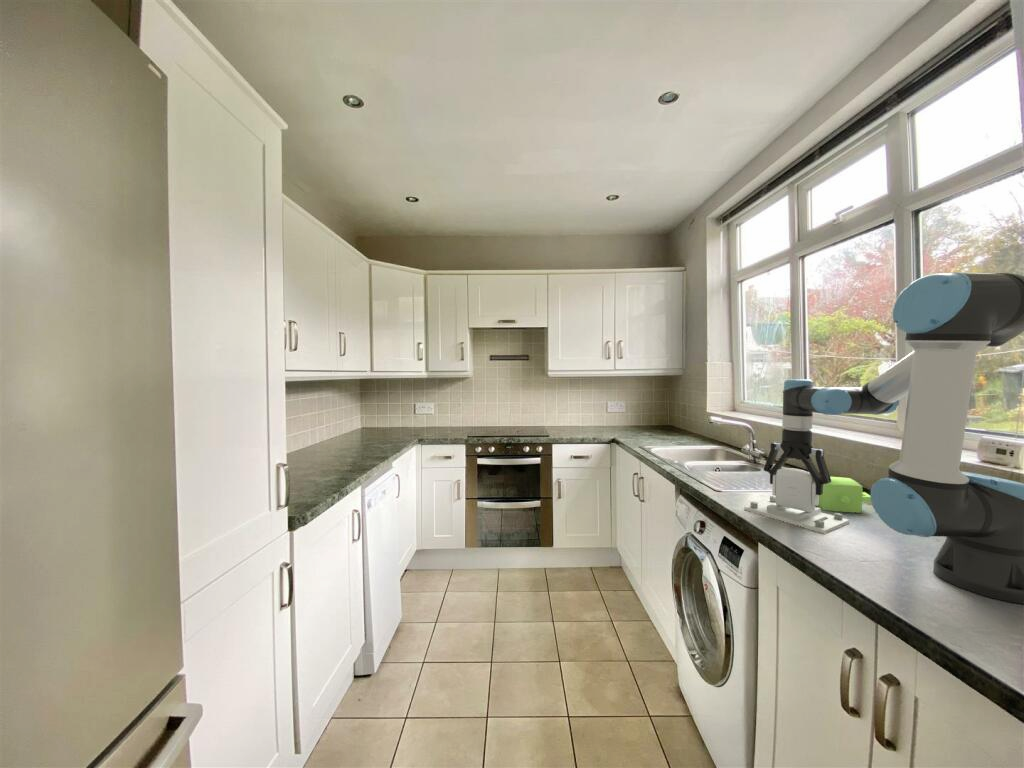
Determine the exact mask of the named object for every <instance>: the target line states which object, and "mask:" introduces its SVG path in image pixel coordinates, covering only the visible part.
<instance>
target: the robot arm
mask: <svg viewBox="0 0 1024 768" xmlns="http://www.w3.org/2000/svg"><path fill="white" fill-rule="evenodd" d="M892 308H893V309H892V321H893V322H894V323H895V324H896V325H895V326H896V327H897V328H898V329H899V330H900V331H903V332H904V333H905V338H904V343H906V344H907V345H908V346H909V347H911V348H912V350H913V351H912V352H910V353H909V354H907V355H906V356H905V357H903V358H902V359H900V360H899V361H897V362H896V363H894V364H893V365H892V366H890V367H889V368H887V369H886V370H885V371H883V372H882V373H880V374H879V375H877V376H876V377H875V378H873V379H871V380H870V381H869V382H867V383H866V384H864V385H862V386H861V387H858V386H857V387H855V386H854V387H853V386H852V387H851V386H849V387H847V386H846V387H844V386H843V387H842V386H840V387H839V386H838V387H837V386H833V387H832V386H831V387H830V386H826V387H825V386H815V384H814V381H813V380H812V379H792V378H791V379H790V378H789V379H786V380H784V384H783V389H782V394H783V395H782V423H781V424H782V427H783V429H782V430H781V443H778V442H771V443H770V450H769V454H768V456H767V459H766V462H765V464H764V467H763V471H764V472H767V473H769V484H770V485H772V494H771V495H772V496H774V497H776V473H777V470H778V469H781V468H782V467H784V465H785V464H786V462H787V461H788V460H789V459H795V460H799V461H802V463H803V464H804V466H805V467H806V469H807V472H810V474H811V476H812V478H813V479H814V481H815V483H813V484H812V505H813V506H815V507H816V506H817V505H819V495H822V494H823V484H827V483H830V482H831V478H830V477H831V476H830V473H829V470H828V467H827V462H826V459H825V450H824V449H822V448H821V449H818V448H813V446H812V441H813V432H812V429H813V415H814V413H817V414H823V415H826V416H828V415H829V416H838V415H840V416H841V415H852V414H854V415H855V414H857V415H860V414H861V415H875V416H876V415H877V416H878V415H885V414H886V415H887V414H890V413H893V412H895V411H896V410H897V408H898V406H900V399H903V398H905V397H906V396H907V402H906V407H905V409H906V410H905V415H904V417H905V418H904V423H903V431H902V432H903V434H902V439H901V440H902V442H901V449H900V455H899V459H898V460H896V461H895V462H892V463H891V464H889V465H888V472H887V477H882V478H880V479H878V480H877V481H876V482H873V484H872V485H871V487H870V493H869V495H870V496H871V502H870V503H871V504H872V507H873V510H874V511H875V513H876V514H877V515H878V517H879V519H880V520H881V521H882V522H883V523H884V524H885V525H886V526H887V527H889V528H890V529H892V530H893V531H895V532H897V533H900V534H903V535H907V536H914V537H915V536H917V537H920V538H921V537H922V538H930V537H946V538H945V540H944V542H943V544H942V545H941V547H940V549H939V551H938V552H937V554H936V556H935V557H934V560H933V567H932V569H933V573H934V574H935V575H936V576H937V577H939V578H940V579H941V580H944V581H945V582H947V583H949V584H951V585H954V586H956V587H958V588H960V589H964V590H966V591H969V592H971V593H972V592H973V593H974V594H978V595H982V596H985V597H989V598H992V599H996V600H999V601H1005V602H1010V603H1015V604H1023V605H1024V483H1022V482H1018V481H1015V480H1010V479H1005V478H1001V477H996V476H990V475H987V474H980V473H974V472H968V471H962V470H960V467H961V459H962V454H963V452H962V451H963V446H964V438H965V433H966V428H967V420H968V413H969V406H970V400H971V399H970V398H971V394H972V393H971V392H972V385H973V381H974V380H973V379H974V373H975V366H976V360H977V354H979V353H980V352H981V351H982V352H983V351H984V350H985V349H987V348H997V347H1000V346H1003V345H1005V344H1006V343H1007V342H1009V341H1011V340H1013V339H1015V338H1017V337H1018V336H1020V335H1021V334H1023V333H1024V275H1022V274H1017V273H1012V272H1011V273H1010V272H998V273H994V272H993V273H992V272H991V273H987V272H985V273H984V272H957V271H955V272H945V273H934V274H927V275H925V276H922V277H920V278H917V279H915V280H914V281H912V282H911V283H909V284H908V286H907V287H905V288H903V289H902V291H901V292H900V293H899V295H898V296H897V298H896V299H895V301H894V305H893V307H892ZM780 449H781V450H782V452H783V453H782V454H781V455H780V458H779V459H778V460H777V461H776V458H777V456H778V453H779V451H780ZM811 454H813V456H814V457H815V461H816V465H817V467H818V469H817V467H816V466H815V464H814V462H813V459H812V458H811V456H810V455H811ZM775 461H776V462H775Z"/></svg>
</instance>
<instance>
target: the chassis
mask: <svg viewBox="0 0 1024 768" xmlns="http://www.w3.org/2000/svg"><path fill="white" fill-rule="evenodd" d="M743 510H745V511H747V512H750V511H751V513H754V514H758V515H760V514H761V515H760V516H763V515H764V516H763V517H767V518H770V517H771V519H773V518H774V520H777V519H778V521H780V520H781V522H783V521H784V523H787V522H788V523H787V524H790V523H791V524H790V525H793V524H794V526H797V525H798V526H797V527H800V526H801V528H803V527H804V529H808V530H810V531H813V530H814V532H817V533H821V534H824V535H826V534H828V533H830V532H833V531H835V530H837V529H839V528H841V527H844V526H846V525H849V524H850V519H848V518H843V514H842V513H841V512H834V513H833V515H832V514H829V513H824V512H822V508H820V507H819V506H817V507H816V506H815V512H813V513H810V512H806V511H802V510H797V509H792V508H788V507H784V506H779V505H776V496H774V495H772V496H769V498H767V499H765V500H763V501H759V502H755V501H751V502H750V504H749V505H745V506H744V508H743Z"/></svg>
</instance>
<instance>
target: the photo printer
mask: <svg viewBox="0 0 1024 768" xmlns="http://www.w3.org/2000/svg"><path fill="white" fill-rule="evenodd" d="M813 483H815V481H814V479H813V478H812V476H811V474H810V472H809V471H808V470H807V471H806V470H804V469H800V468H794V467H783V468H782V467H781V469H778V470H777V473H776V496H775V497H776V505H779V506H784V507H788V508H792V509H797V510H802V511H806V512H810V513H813V512H815V507H816V506H813V505H812V484H813Z"/></svg>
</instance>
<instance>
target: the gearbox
mask: <svg viewBox="0 0 1024 768" xmlns="http://www.w3.org/2000/svg"><path fill="white" fill-rule="evenodd" d="M830 478H831V482H830V483H827V484H823V494H822V495H819V505H816V506H817V507H818V508H821V510H824V511H832V512H833V511H834V512H841V511H842V512H843V513H855V512H856V513H862V512H863V511H862V510H863V503H872V502H871V496H870V493H867V492H865V491H863V485H861V484H860V483H859V482H857V481H856V480H854V479H852V478H850V477H840V476H830Z"/></svg>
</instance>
